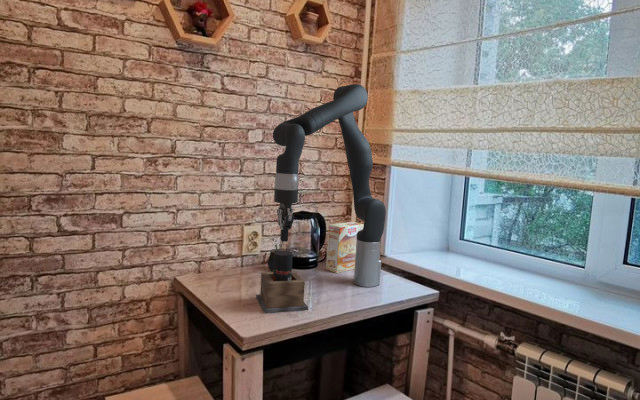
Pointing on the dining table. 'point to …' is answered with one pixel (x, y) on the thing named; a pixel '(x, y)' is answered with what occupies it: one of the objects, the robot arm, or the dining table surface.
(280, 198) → the robot arm
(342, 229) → the coffeecake box
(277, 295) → the sleeve holder
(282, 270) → the deodorant
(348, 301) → the dining table surface
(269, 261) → the mate gourd
